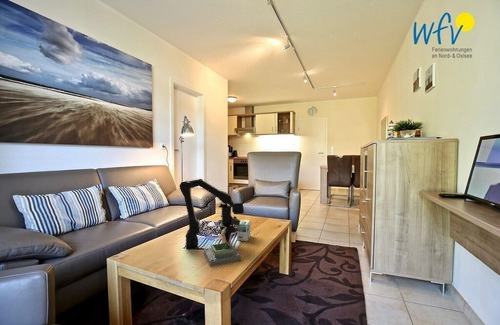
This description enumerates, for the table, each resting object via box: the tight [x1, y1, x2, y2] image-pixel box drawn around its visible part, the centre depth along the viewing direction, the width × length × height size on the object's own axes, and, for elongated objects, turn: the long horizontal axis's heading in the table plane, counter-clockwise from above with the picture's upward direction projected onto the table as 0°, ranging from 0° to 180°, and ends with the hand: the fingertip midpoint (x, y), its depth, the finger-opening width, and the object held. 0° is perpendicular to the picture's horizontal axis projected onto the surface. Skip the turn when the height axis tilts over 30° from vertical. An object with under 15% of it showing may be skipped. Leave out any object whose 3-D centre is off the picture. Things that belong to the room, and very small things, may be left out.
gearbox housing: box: [203, 242, 242, 267], centre depth 126 cm, size 16×16×6 cm
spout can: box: [221, 229, 235, 245], centre depth 142 cm, size 7×6×10 cm
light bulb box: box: [236, 219, 251, 242], centre depth 154 cm, size 11×7×11 cm, turn 168°
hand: (226, 239), depth 142 cm, fingers closed on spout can, 5 cm apart
